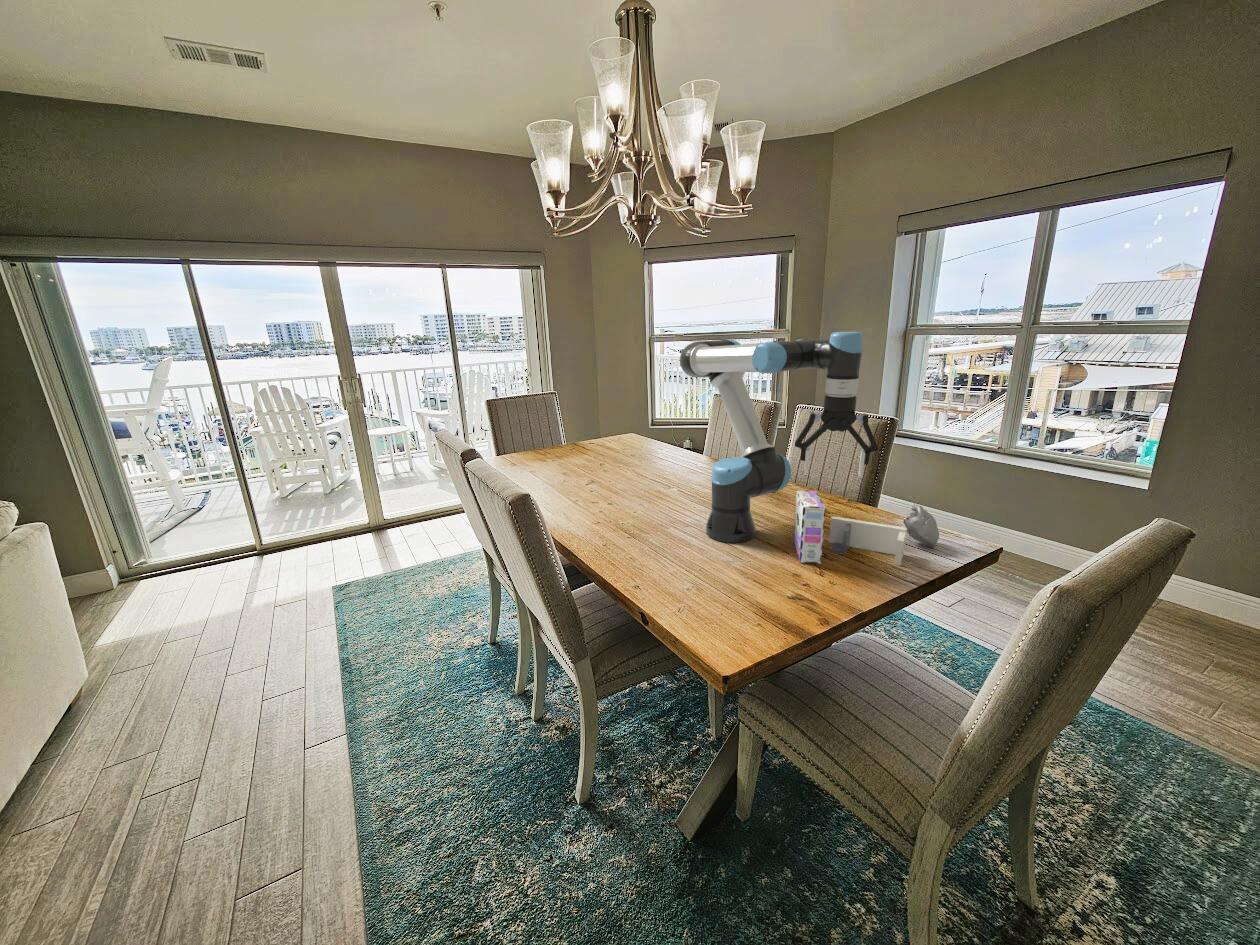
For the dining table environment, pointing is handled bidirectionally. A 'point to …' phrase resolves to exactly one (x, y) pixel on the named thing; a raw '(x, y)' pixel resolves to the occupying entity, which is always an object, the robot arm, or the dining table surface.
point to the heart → (922, 526)
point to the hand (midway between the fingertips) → (832, 474)
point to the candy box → (809, 526)
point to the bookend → (843, 546)
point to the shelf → (870, 536)
